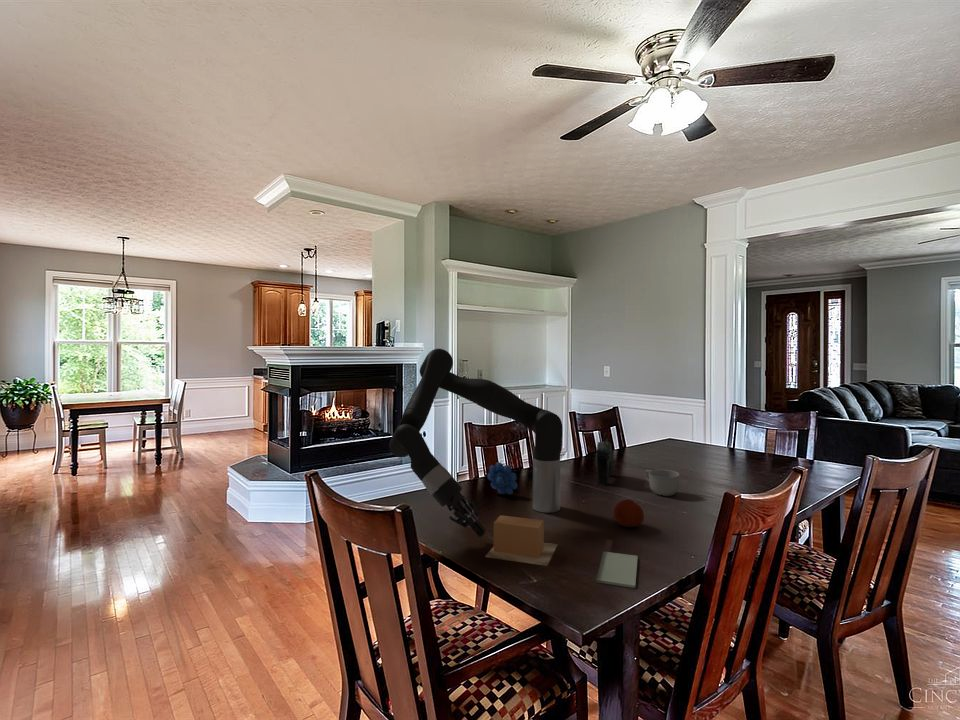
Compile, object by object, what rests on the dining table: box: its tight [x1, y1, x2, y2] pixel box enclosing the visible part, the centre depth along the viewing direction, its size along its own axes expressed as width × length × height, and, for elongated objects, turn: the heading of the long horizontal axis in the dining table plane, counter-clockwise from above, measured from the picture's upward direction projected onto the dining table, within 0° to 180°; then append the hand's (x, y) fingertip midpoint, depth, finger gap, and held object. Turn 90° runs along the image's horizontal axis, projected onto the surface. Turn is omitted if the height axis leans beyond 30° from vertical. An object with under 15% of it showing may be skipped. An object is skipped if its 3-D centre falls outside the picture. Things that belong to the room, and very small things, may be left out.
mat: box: [595, 550, 639, 589], centre depth 123 cm, size 17×20×1 cm
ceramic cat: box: [595, 432, 614, 486], centre depth 204 cm, size 20×6×20 cm, turn 158°
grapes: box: [487, 461, 518, 495], centre depth 183 cm, size 12×7×12 cm, turn 70°
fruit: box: [612, 499, 645, 528], centre depth 151 cm, size 9×9×8 cm
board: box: [485, 542, 559, 567], centre depth 129 cm, size 14×16×2 cm
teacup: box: [643, 468, 681, 497], centre depth 186 cm, size 14×11×8 cm
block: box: [493, 514, 545, 558], centre depth 129 cm, size 6×12×8 cm, turn 71°
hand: (483, 534), depth 132 cm, fingers closed
